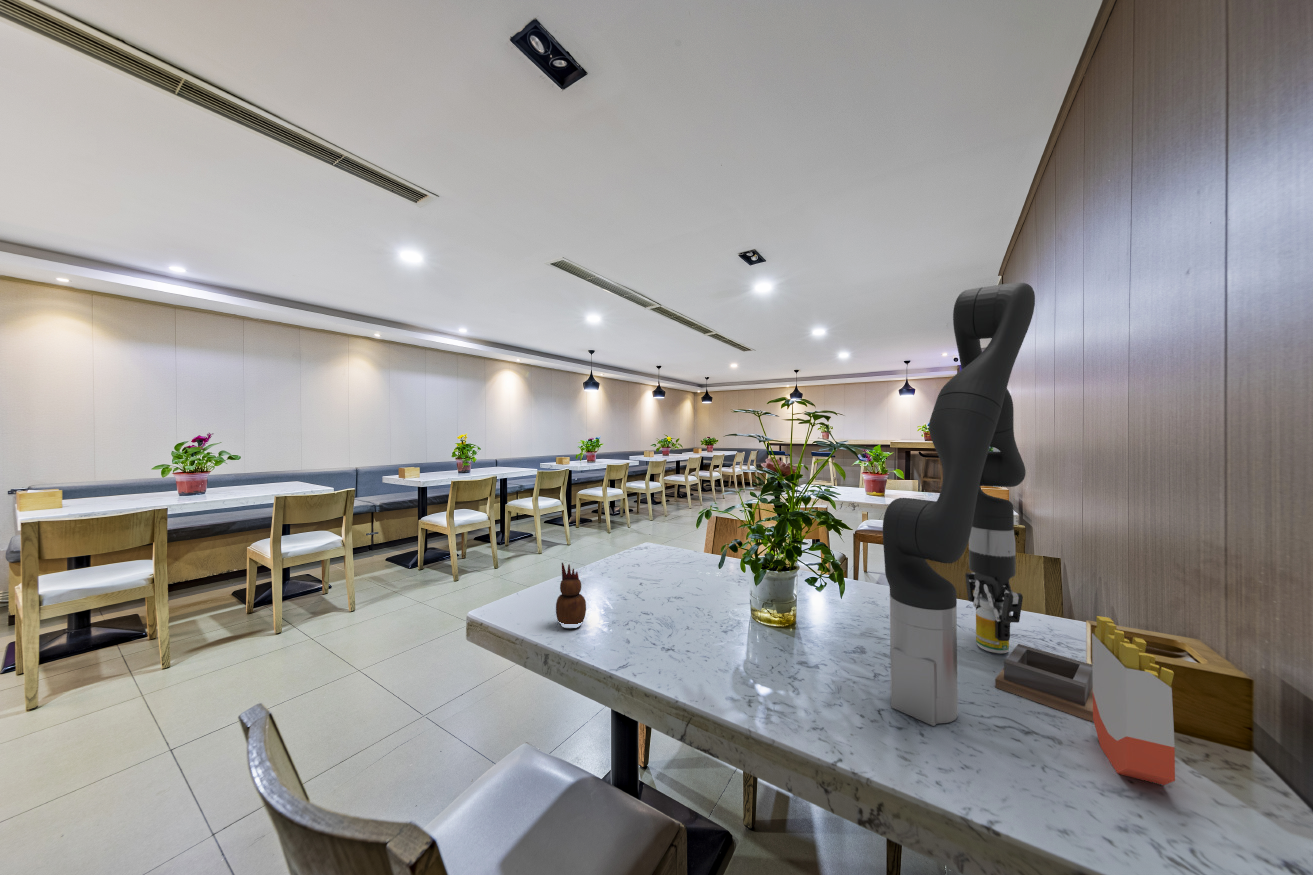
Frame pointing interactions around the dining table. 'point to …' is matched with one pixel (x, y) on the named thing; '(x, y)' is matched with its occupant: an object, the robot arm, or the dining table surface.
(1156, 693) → the french fries container
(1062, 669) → the collar stand
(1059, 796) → the dining table surface
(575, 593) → the wooden figurine
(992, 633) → the supplement bottle
